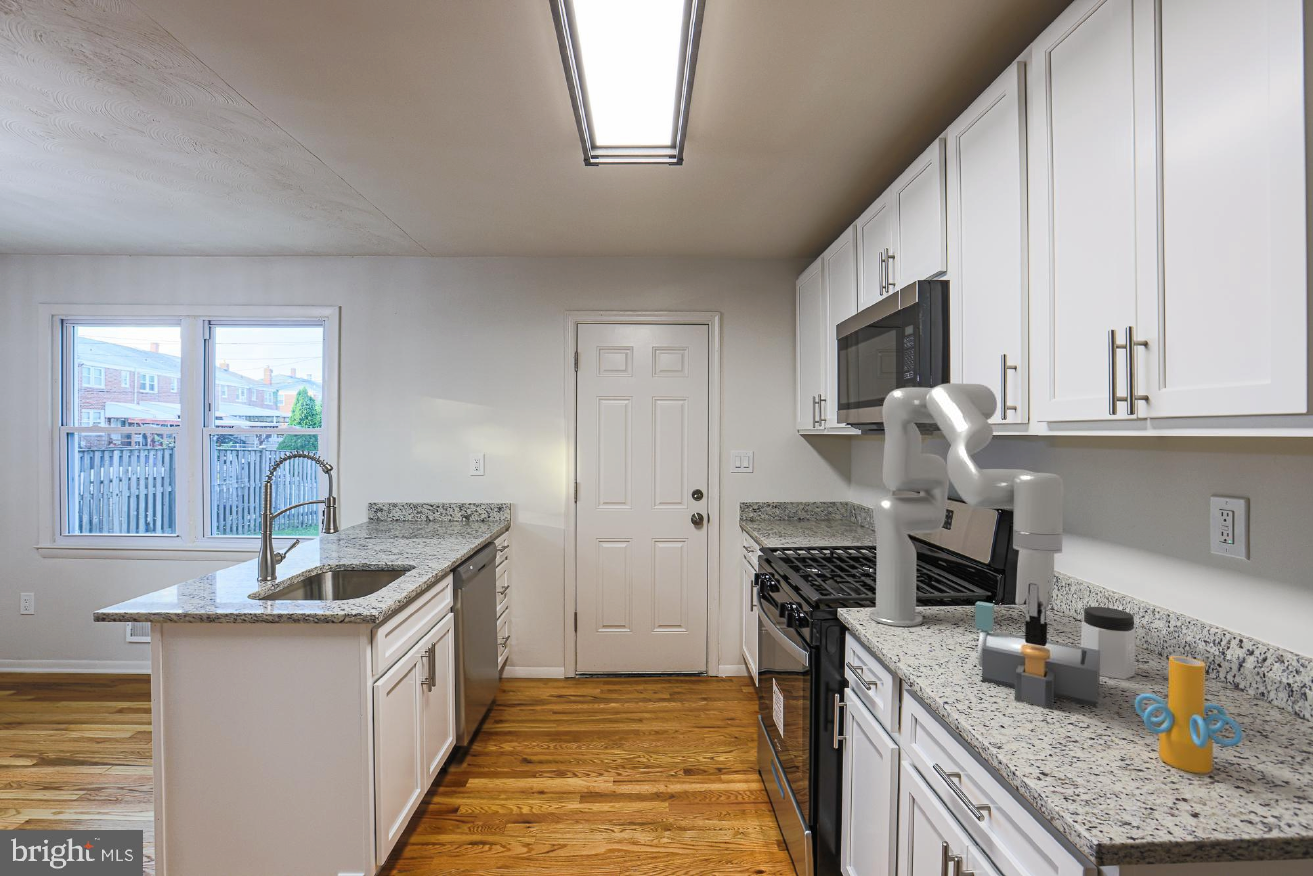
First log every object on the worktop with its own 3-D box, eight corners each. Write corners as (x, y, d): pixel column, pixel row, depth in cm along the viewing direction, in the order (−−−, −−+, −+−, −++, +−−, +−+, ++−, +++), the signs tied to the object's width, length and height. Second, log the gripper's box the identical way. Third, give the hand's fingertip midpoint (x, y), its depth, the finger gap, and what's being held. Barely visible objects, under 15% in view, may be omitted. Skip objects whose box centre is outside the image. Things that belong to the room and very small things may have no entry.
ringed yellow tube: (1251, 771, 88) (1253, 666, 88) (1231, 795, 82) (1233, 683, 82) (1146, 736, 98) (1148, 642, 98) (1121, 755, 92) (1123, 655, 92)
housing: (993, 662, 129) (994, 631, 129) (1099, 684, 118) (1100, 650, 118) (976, 691, 114) (976, 656, 114) (1095, 719, 103) (1096, 681, 103)
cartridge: (979, 659, 128) (979, 598, 128) (1081, 680, 117) (1082, 614, 117) (971, 669, 122) (972, 606, 122) (1079, 693, 112) (1080, 624, 112)
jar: (1122, 683, 119) (1123, 621, 119) (1074, 669, 126) (1075, 610, 125) (1140, 673, 124) (1141, 613, 124) (1094, 660, 130) (1095, 604, 130)
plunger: (1022, 678, 114) (1023, 642, 114) (1050, 684, 111) (1051, 648, 111) (1019, 686, 111) (1019, 649, 111) (1048, 693, 108) (1048, 654, 108)
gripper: (1019, 534, 119) (1017, 629, 119) (1006, 545, 107) (1005, 650, 107) (1065, 538, 114) (1064, 637, 114) (1058, 550, 102) (1056, 660, 103)
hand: (1035, 643), depth 111 cm, fingers closed
